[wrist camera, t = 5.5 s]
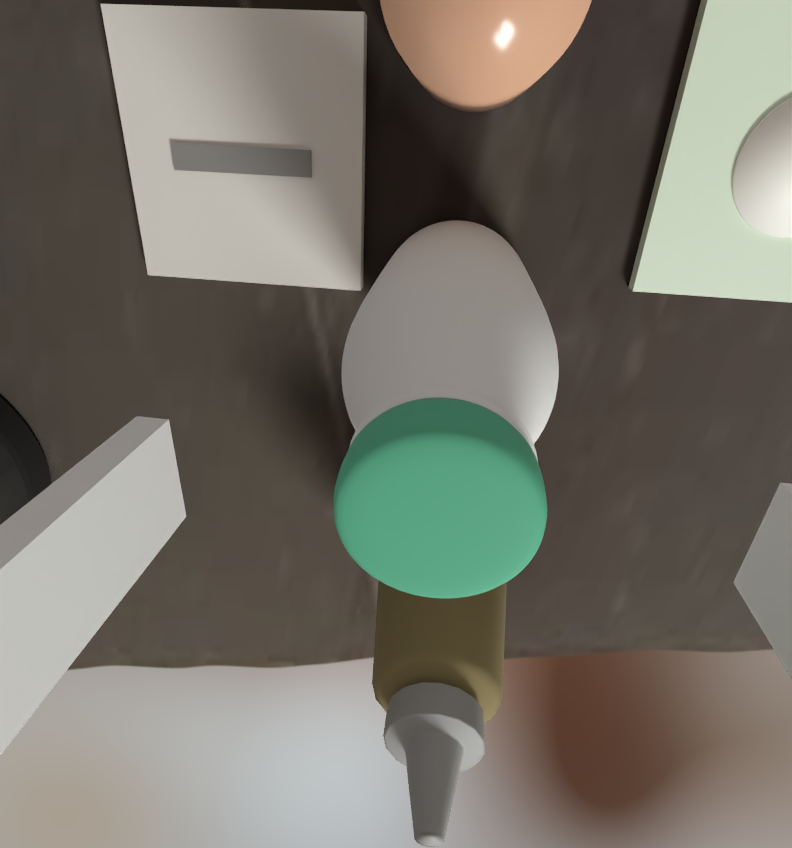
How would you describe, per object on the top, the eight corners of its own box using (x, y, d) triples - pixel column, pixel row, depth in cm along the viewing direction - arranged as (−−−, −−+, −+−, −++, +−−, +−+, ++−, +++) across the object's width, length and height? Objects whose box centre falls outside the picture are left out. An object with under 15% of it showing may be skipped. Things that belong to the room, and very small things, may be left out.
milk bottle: (401, 201, 27) (279, 300, 9) (547, 240, 27) (711, 414, 9) (370, 341, 30) (240, 607, 13) (499, 375, 30) (548, 686, 13)
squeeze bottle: (435, 598, 39) (416, 904, 23) (363, 528, 37) (287, 815, 21) (527, 549, 36) (576, 864, 20) (454, 470, 34) (445, 754, 18)
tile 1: (155, 271, 30) (146, 275, 29) (111, 8, 24) (97, 2, 23) (363, 287, 29) (359, 291, 28) (367, 15, 23) (363, 10, 22)
